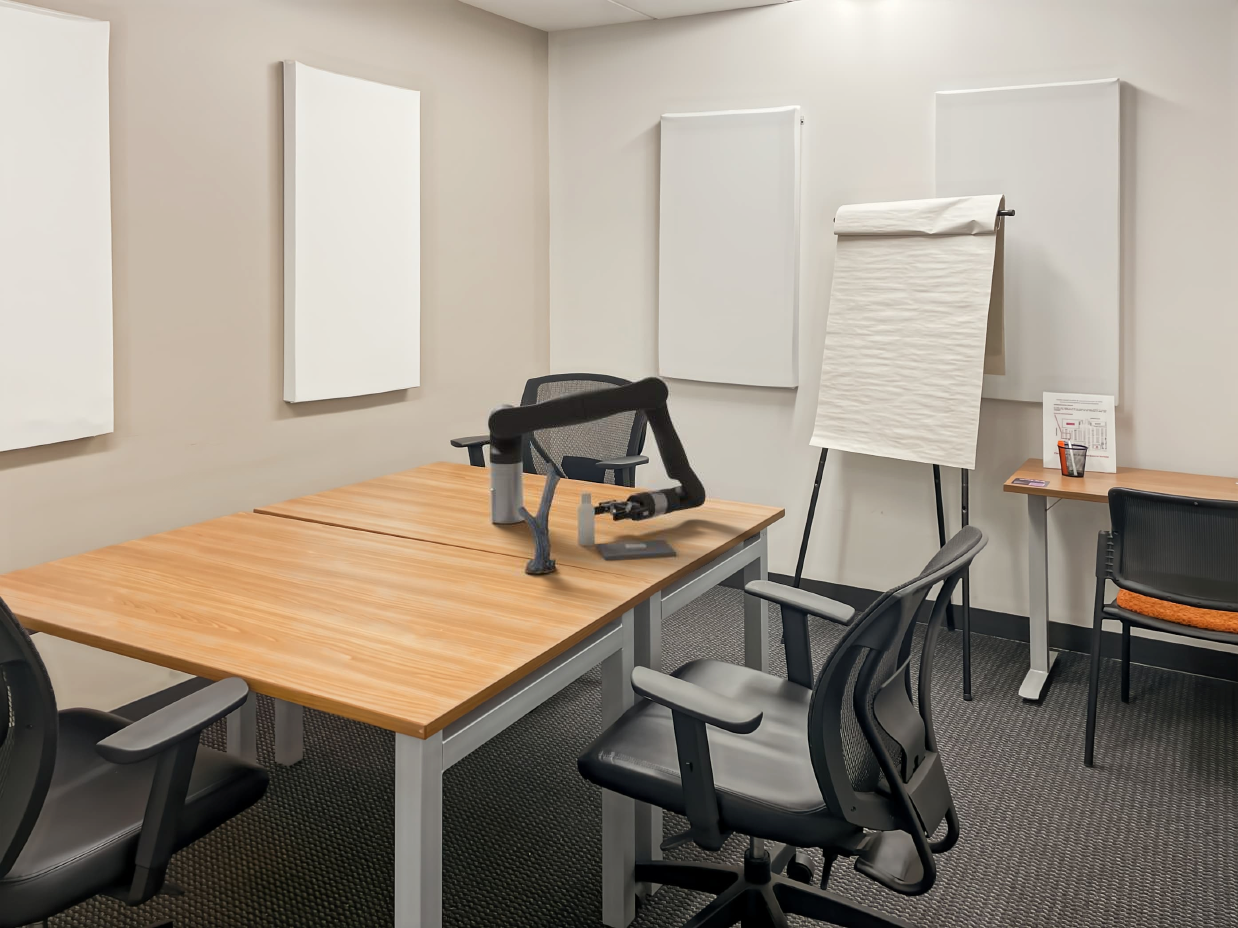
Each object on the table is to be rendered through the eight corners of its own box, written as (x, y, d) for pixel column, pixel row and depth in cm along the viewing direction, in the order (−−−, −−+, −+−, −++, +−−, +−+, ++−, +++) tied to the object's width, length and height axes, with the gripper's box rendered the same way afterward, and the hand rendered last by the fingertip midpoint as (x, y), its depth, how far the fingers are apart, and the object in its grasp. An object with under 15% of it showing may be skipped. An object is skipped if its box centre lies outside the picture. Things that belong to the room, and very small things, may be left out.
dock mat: (605, 560, 238) (605, 553, 238) (596, 547, 250) (596, 541, 249) (676, 555, 242) (676, 549, 241) (664, 543, 253) (664, 537, 253)
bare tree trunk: (544, 577, 224) (542, 471, 220) (515, 572, 228) (513, 468, 223) (568, 564, 234) (567, 463, 230) (540, 560, 238) (539, 460, 233)
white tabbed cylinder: (579, 546, 251) (578, 495, 248) (576, 542, 255) (576, 492, 252) (596, 545, 251) (595, 494, 249) (593, 541, 256) (592, 491, 253)
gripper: (629, 487, 271) (585, 496, 260) (665, 495, 261) (621, 504, 250) (629, 513, 272) (585, 523, 262) (665, 522, 262) (621, 533, 251)
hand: (603, 514), depth 256 cm, fingers open, 8 cm apart
